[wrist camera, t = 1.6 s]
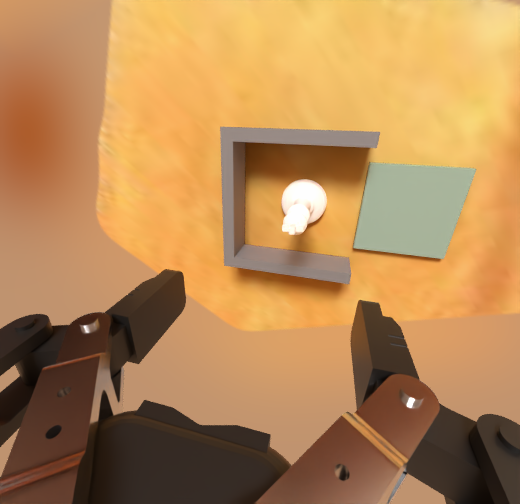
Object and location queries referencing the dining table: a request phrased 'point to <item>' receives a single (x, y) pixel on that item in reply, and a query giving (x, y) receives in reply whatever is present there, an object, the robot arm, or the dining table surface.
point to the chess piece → (302, 205)
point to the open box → (235, 203)
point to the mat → (411, 208)
